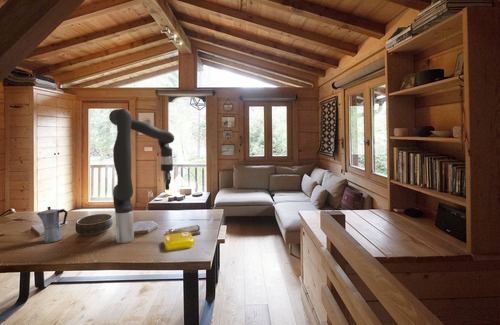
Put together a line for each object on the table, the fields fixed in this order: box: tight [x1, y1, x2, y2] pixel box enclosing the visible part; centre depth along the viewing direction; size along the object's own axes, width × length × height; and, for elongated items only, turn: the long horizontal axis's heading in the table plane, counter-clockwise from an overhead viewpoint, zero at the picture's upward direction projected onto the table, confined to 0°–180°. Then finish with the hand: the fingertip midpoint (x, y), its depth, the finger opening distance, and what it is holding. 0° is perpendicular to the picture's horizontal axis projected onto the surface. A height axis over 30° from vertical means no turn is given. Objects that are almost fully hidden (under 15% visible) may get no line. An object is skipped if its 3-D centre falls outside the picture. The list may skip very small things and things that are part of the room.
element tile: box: [163, 232, 195, 252], centre depth 156 cm, size 15×15×5 cm
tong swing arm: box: [174, 224, 199, 230], centre depth 173 cm, size 15×2×2 cm, turn 120°
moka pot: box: [36, 206, 68, 244], centre depth 163 cm, size 10×15×20 cm, turn 111°
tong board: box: [165, 230, 201, 237], centre depth 173 cm, size 18×12×2 cm, turn 120°
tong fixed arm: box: [168, 225, 200, 234], centre depth 172 cm, size 19×4×3 cm, turn 120°
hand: (167, 189), depth 183 cm, fingers closed
